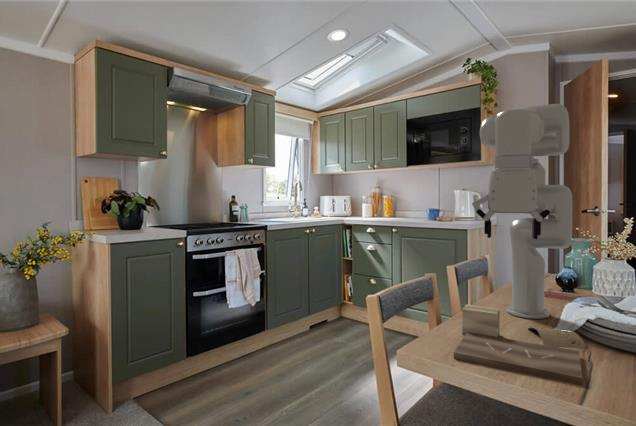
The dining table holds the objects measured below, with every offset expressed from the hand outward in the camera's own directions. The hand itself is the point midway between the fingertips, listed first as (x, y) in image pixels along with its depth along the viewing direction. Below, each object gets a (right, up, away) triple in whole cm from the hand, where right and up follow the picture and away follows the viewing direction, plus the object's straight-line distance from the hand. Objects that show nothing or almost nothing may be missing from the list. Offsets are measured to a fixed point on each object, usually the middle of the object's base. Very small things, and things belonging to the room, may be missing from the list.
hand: (511, 237), depth 91 cm
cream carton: (+1, -29, +19) cm, 35 cm away
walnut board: (+3, -30, +4) cm, 30 cm away
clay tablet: (+20, -30, +16) cm, 39 cm away
